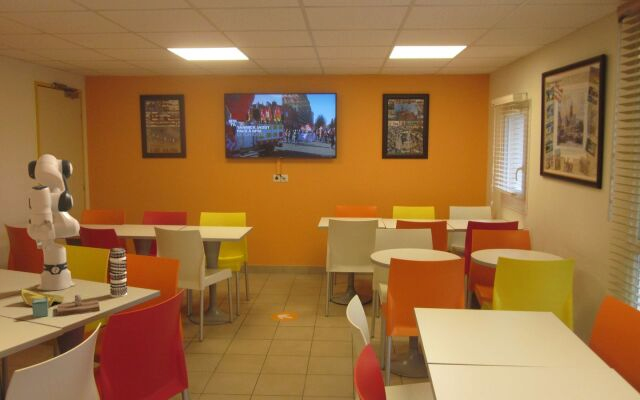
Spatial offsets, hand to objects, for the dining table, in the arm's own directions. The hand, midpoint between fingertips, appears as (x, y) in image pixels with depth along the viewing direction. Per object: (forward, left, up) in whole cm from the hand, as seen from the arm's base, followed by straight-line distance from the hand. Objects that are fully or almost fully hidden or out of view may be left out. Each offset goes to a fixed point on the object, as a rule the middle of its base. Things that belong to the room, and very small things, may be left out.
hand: (43, 249), depth 237 cm
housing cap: (+5, -2, -30) cm, 31 cm away
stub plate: (+3, +14, -30) cm, 33 cm away
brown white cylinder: (-15, +34, -30) cm, 48 cm away
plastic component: (-15, -3, -31) cm, 34 cm away
